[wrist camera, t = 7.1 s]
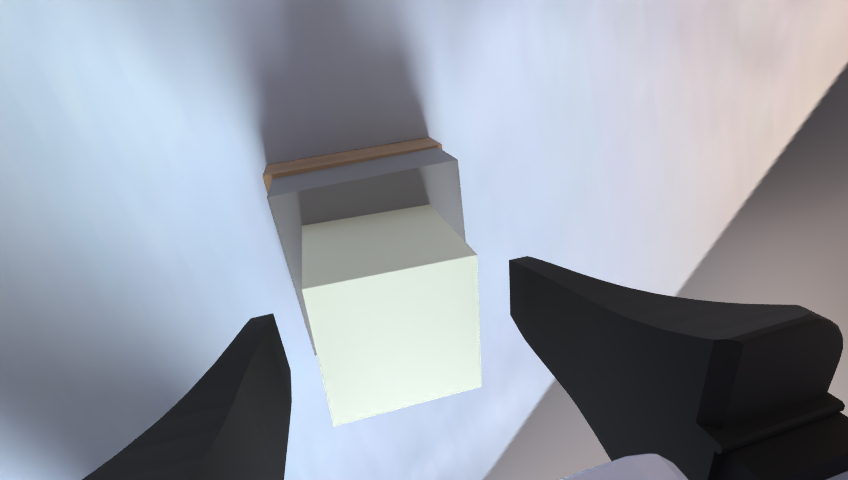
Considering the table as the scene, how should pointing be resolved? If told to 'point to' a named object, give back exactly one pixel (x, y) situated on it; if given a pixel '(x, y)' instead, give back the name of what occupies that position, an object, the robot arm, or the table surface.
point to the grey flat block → (362, 198)
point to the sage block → (391, 310)
